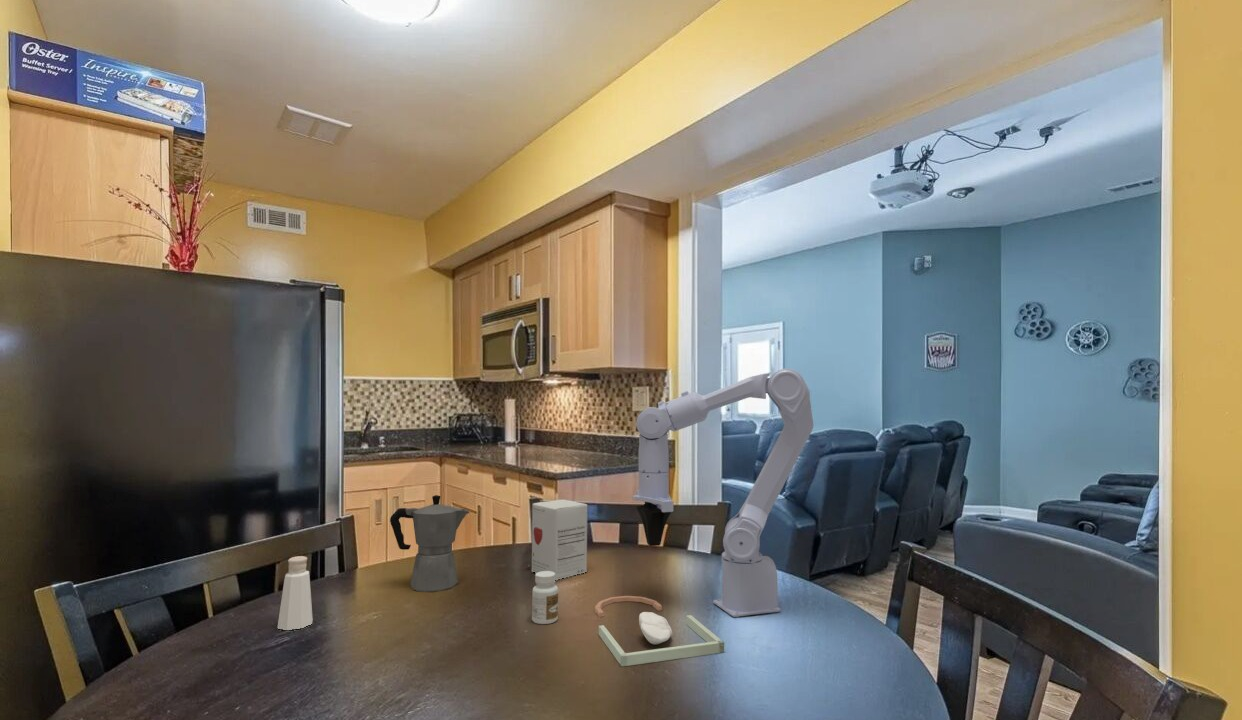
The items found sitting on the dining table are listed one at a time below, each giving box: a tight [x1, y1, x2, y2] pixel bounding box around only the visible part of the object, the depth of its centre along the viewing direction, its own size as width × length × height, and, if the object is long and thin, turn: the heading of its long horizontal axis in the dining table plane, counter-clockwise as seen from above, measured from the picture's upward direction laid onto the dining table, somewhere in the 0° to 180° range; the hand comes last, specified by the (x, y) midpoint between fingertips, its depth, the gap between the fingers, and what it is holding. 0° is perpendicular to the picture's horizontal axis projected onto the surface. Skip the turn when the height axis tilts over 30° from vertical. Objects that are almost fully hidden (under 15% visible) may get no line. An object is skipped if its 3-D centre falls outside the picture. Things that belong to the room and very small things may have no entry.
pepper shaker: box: [276, 555, 313, 630], centre depth 99 cm, size 5×5×11 cm
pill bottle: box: [531, 571, 559, 625], centre depth 101 cm, size 4×4×8 cm
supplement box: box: [531, 498, 588, 581], centre depth 130 cm, size 9×9×15 cm
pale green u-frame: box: [598, 614, 725, 667], centre depth 91 cm, size 16×12×1 cm
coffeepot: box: [389, 495, 470, 593], centre depth 121 cm, size 15×9×18 cm, turn 102°
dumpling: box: [638, 611, 673, 645], centre depth 92 cm, size 7×5×4 cm
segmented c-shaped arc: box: [594, 595, 663, 618], centre depth 108 cm, size 12×7×1 cm, turn 108°
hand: (653, 544), depth 111 cm, fingers closed
